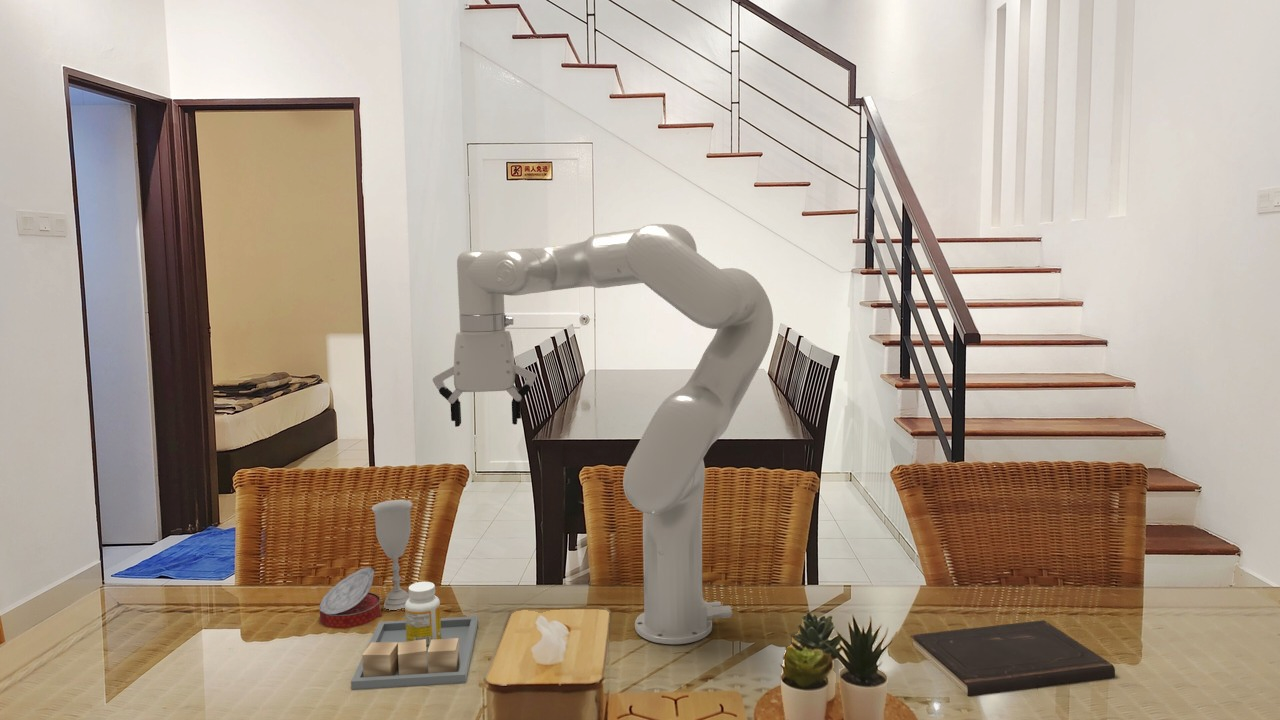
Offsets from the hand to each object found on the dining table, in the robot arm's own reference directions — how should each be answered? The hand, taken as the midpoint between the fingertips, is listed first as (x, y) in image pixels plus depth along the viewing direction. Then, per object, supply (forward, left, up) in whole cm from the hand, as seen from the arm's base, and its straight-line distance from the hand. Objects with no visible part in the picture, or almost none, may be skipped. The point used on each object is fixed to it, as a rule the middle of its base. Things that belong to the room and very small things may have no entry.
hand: (486, 424), depth 151 cm
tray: (+10, +19, -32) cm, 39 cm away
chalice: (+17, -2, -32) cm, 37 cm away
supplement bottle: (+10, +16, -32) cm, 37 cm away
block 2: (+10, +25, -32) cm, 42 cm away
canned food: (+24, +3, -33) cm, 41 cm away
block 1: (+14, +25, -32) cm, 43 cm away
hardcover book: (-78, +32, -33) cm, 90 cm away
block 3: (+6, +25, -32) cm, 41 cm away
